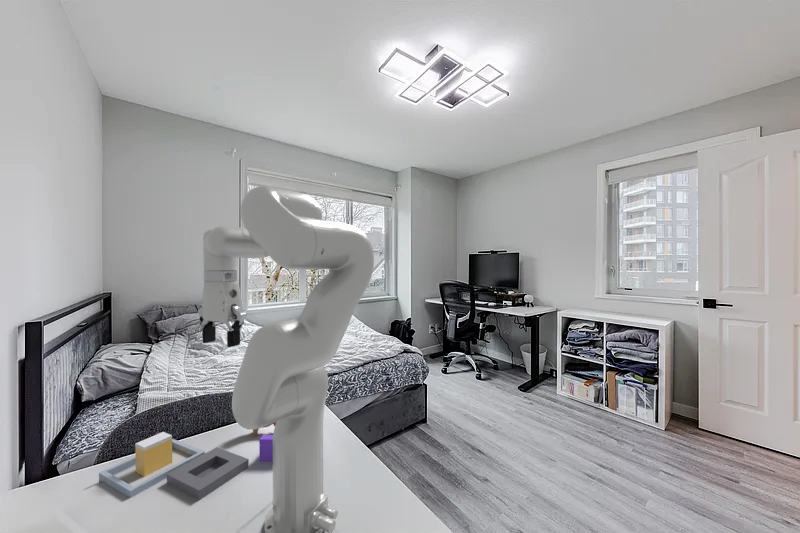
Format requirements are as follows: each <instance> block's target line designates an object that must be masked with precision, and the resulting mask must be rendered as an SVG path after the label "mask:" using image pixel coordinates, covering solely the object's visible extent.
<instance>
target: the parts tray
mask: <svg viewBox="0 0 800 533" xmlns="http://www.w3.org/2000/svg"><path fill="white" fill-rule="evenodd" d="M172 449H176V450H178V451H181V452H183V453H185V454H187V455H190V456H189V457H187V458H186V459H184V460H182V461H180V462H178V463H176V464H174V465H172V466H170V467H168V468H166V469H164V470H163V471H161V472H158V473H157V474H155V475H153V476H151V477H149V478H147V479H146V480H144V481H142V482H140V483H138V484H136V485H134V486H133V485H131V484H129V482H125V481H124V480H122V479H121V478H119V477H117V475H119V474H122V473H123V472H126V471H128V470H129V469H132V468H133V467H136V455H134V456H132V457H130V458H128V459H126V460H124V461H122V462H119V463H117V464H115V465H113V466H111V467H108V468H106V469H104V470H102V471H99V472H98V483H99V484H101V483H102V482H103V483H105V484H106V485H108V486H110V487H112V488H114V489H116V491H118V492H119V493H122V494H123V495H125V496H127V497H129V498H130V499H131V498H133V497H135V496H137V495H139V494H140V493H142V492H143V491H144V492H145V490H148V489H149V488H151V487H153V486H155V485H157V484H158V483H160V482H162V481H165V479H166V480H167V474H168V473H170V472H172V471H174V470H176V469H178V468H179V467H181V466H183V465H185V464H187V463H189V462H190V461H192V460H194V459H196V458H198V457H200V456H202V455H203V454H205V453H206V452H205V451H204V450H202V449H199V448H197V447H195V446H192V445H190V444H187V443H185V442H182V441H179V440H177V439H176V438H172Z"/></svg>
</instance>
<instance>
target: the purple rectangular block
mask: <svg viewBox="0 0 800 533" xmlns="http://www.w3.org/2000/svg"><path fill="white" fill-rule="evenodd" d="M258 441H259V444H258V447H259V462H273V434H262V436H260V438H259V440H258Z"/></svg>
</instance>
